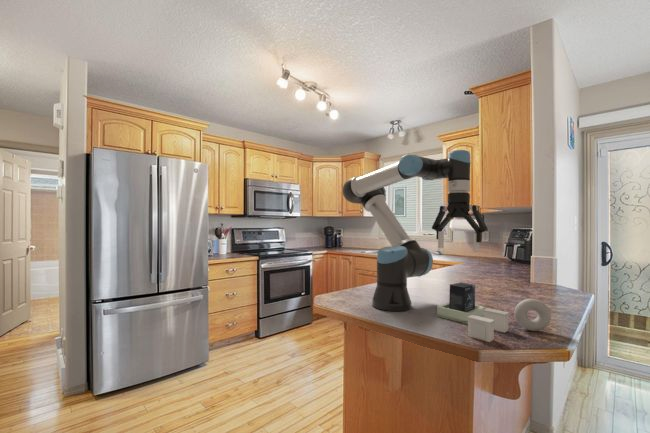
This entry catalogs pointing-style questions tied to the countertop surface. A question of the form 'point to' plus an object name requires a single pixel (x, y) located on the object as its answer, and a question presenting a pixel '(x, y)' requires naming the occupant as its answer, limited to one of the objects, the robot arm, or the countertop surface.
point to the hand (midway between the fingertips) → (457, 249)
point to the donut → (537, 323)
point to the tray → (458, 313)
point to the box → (462, 297)
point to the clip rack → (487, 324)
